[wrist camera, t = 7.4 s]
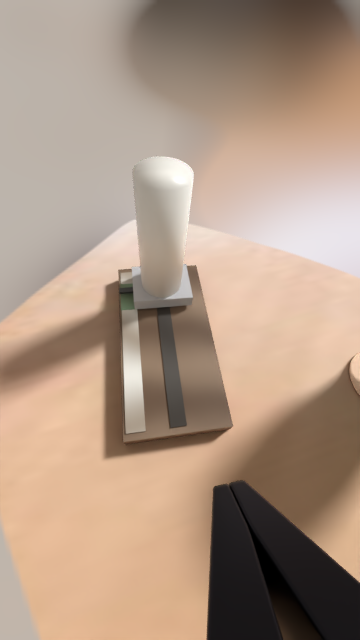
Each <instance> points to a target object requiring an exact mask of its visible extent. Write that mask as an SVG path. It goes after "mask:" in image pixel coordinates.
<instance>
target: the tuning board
mask: <svg viewBox="0 0 360 640" xmlns="http://www.w3.org/2000/svg"><path fill="white" fill-rule="evenodd" d="M118 271H119V288H126V287H133V280H132V269H124V270H118ZM187 271H188V276H189V281H190V286H191V290H192V295H193V300H192V305H186V306H173V307H160V308H147V309H135V306H134V296H133V293H130V294H120V293H119V307H120V343H121V379H122V416H123V442H124V443H125V445H126V444H133V443H140V442H146V441H153V440H160V439H167V438H174V437H181V436H188V435H195V434H202V433H209V432H216V431H223V430H229V429H230V428H231V427H233V424H232V420H231V415H230V411H229V406H228V402H227V398H226V393H225V389H224V385H223V380H222V376H221V372H220V367H219V363H218V359H217V354H216V350H215V346H214V341H213V337H212V333H211V328H210V324H209V320H208V315H207V311H206V306H205V302H204V298H203V293H202V289H201V285H200V280H199V276H198V272H197V267H196V265H195V266H187Z"/></svg>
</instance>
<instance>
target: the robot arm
mask: <svg viewBox="0 0 360 640" xmlns="http://www.w3.org/2000/svg"><path fill="white" fill-rule="evenodd" d="M207 640H360V582H358V581H357V580H356V579H355V578H354V577H353V576H352V575H350V574H349V573H348V572H347V571H346V570H345V569H344V568H343V567H341V566H340V565H339V564H338V563H337V562H336V561H335V560H333V559H332V558H331V557H330V556H329V555H328V554H327V553H326V552H324V551H323V550H322V549H321V548H320V547H319V546H318V545H317V544H315V543H314V542H313V541H312V540H311V539H310V538H309V537H307V536H306V535H305V534H304V533H303V532H302V531H301V530H300V529H298V528H297V527H296V526H295V525H294V524H293V523H292V522H291V521H289V520H288V519H287V518H286V517H285V516H284V515H283V514H281V513H280V512H279V511H278V510H277V509H276V508H275V507H274V506H272V505H271V504H270V503H269V502H268V501H267V500H266V499H265V498H263V497H262V496H261V495H260V494H259V493H258V492H257V491H255V490H254V489H253V488H252V487H251V486H250V485H249V484H248V483H246V482H245V481H243V480H240V481H236V482H231V483H230V484H229V485H228V484H223V485H218V486H215V487H214V488H213V503H212V526H211V549H210V572H209V594H208V617H207Z"/></svg>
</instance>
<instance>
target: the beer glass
mask: <svg viewBox="0 0 360 640" xmlns="http://www.w3.org/2000/svg"><path fill="white" fill-rule="evenodd" d="M349 374H350V379H351V382H352V384H353V386H354V388H355V390H356V391H357V393H358V394H359V395H360V352H359V353H358V354H356V355H355V356H354V357H353V359H352V360H351V363H350V366H349Z"/></svg>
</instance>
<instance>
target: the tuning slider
mask: <svg viewBox="0 0 360 640" xmlns="http://www.w3.org/2000/svg"><path fill="white" fill-rule="evenodd" d="M193 178H194V173H193V170H192V169H191V168H190V167H189V166H188V165H187V164H186V163H184V162H182V161H180V160H178V159H175V158H171V157H161V156H159V157H150V158H146V159H144V160H141V161H140V162H138V163H137V164H136V165H135V166H134V168H133V183H134V197H135V209H136V221H137V233H138V245H139V257H140V267H132V280H133V287H126V288H119V293H120V294H130V293H133V296H134V306H135V309H147V308H160V307H173V306H186V305H192V300H193V295H192V290H191V286H190V281H189V276H188V271H187V266H186V264H183V263H184V254H185V246H186V237H187V229H188V220H189V212H190V203H191V195H192V186H193Z"/></svg>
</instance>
